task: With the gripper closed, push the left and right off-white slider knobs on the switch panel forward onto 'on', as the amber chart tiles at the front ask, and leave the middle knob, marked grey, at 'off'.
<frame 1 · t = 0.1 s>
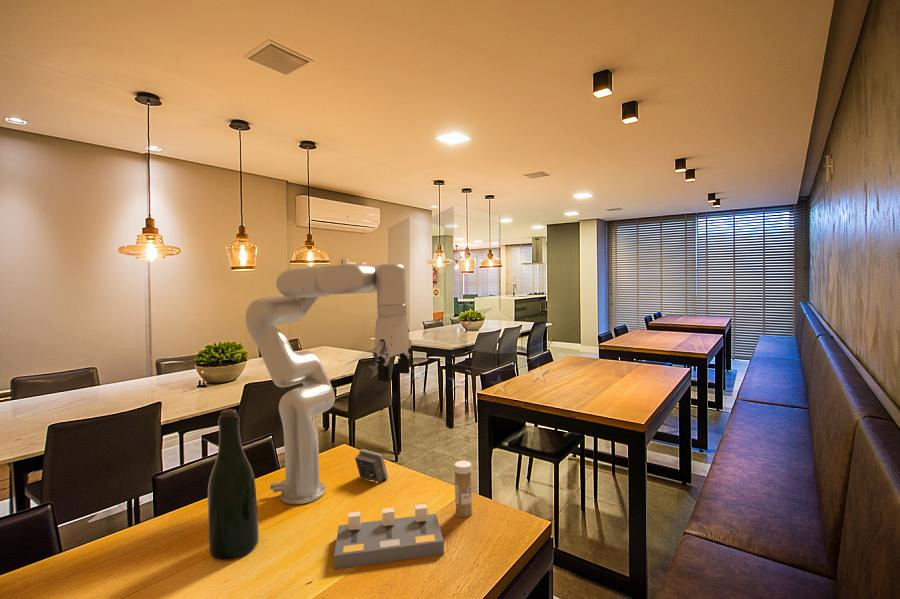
hand: (394, 376, 113), 37 cm above the table, tool pointing down, fingers open, 9 cm apart
electrical switch: (372, 480, 137), on the table
slider middle: (388, 516, 105), point 5 cm above the table, slide at 0.0 cm
slider left: (354, 520, 104), point 5 cm above the table, slide at 0.0 cm
switch panel: (389, 545, 102), on the table
beer bottle: (234, 549, 102), on the table
slider right: (421, 512, 106), point 5 cm above the table, slide at 0.0 cm
sprinkles bottle: (463, 514, 115), on the table
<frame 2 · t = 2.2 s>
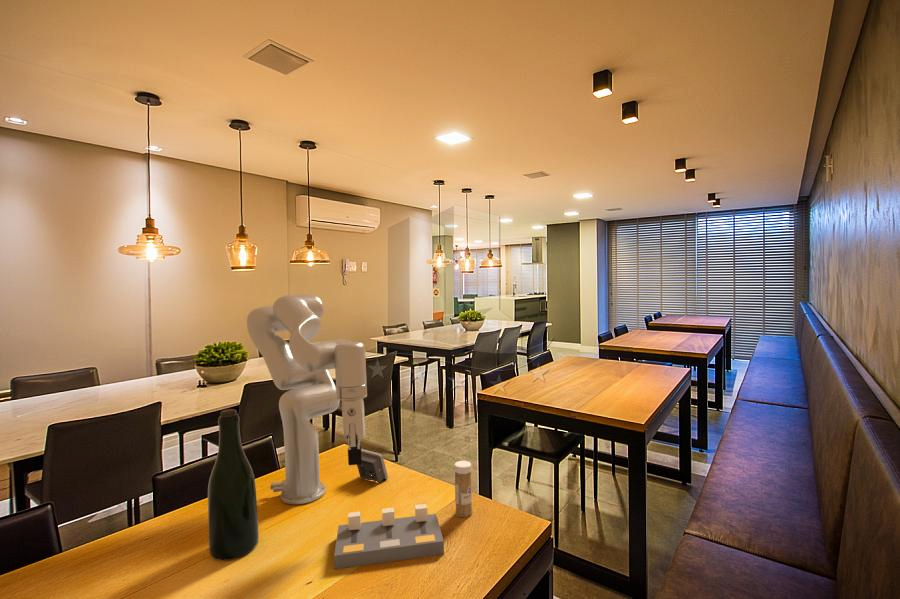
hand: (355, 463, 109), 16 cm above the table, tool pointing down, fingers closed
nothing on the table moved.
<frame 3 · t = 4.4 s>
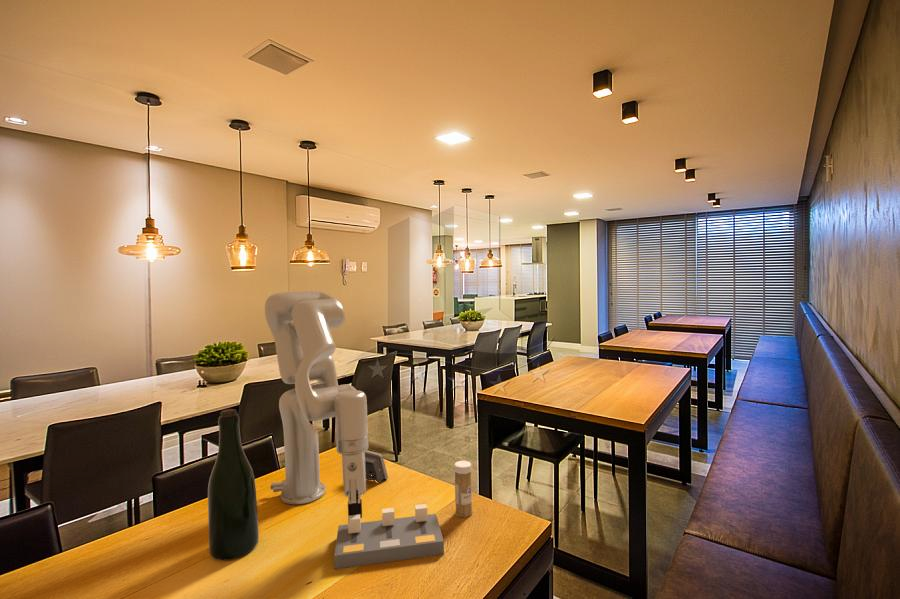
hand: (355, 517, 105), 5 cm above the table, tool pointing down, fingers closed
slider left: (354, 523, 102), point 5 cm above the table, slide at 1.3 cm, touching gripper
everything else where it was.
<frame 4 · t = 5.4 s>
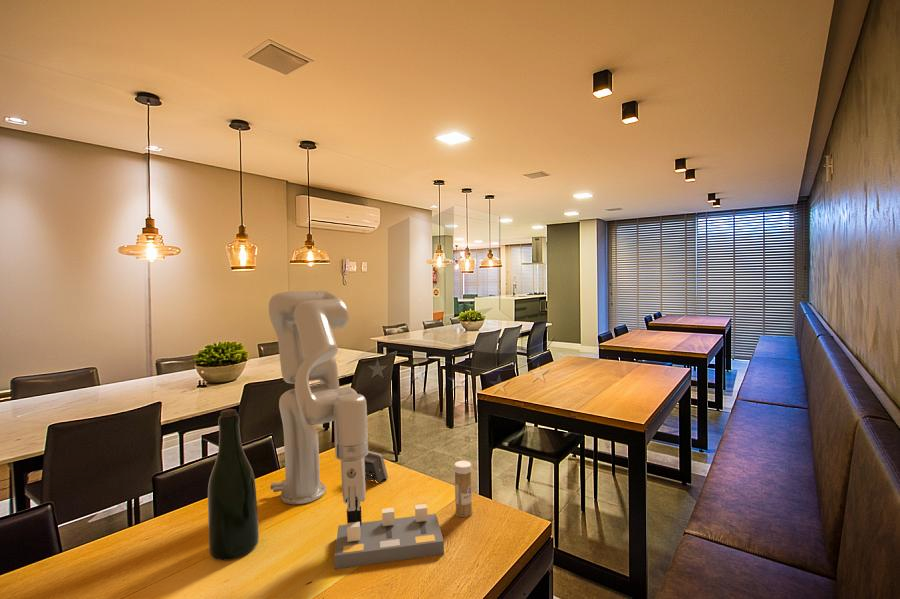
hand: (354, 525, 102), 5 cm above the table, tool pointing down, fingers closed
slider left: (353, 531, 99), point 5 cm above the table, slide at 4.6 cm, touching gripper
everything else where it was.
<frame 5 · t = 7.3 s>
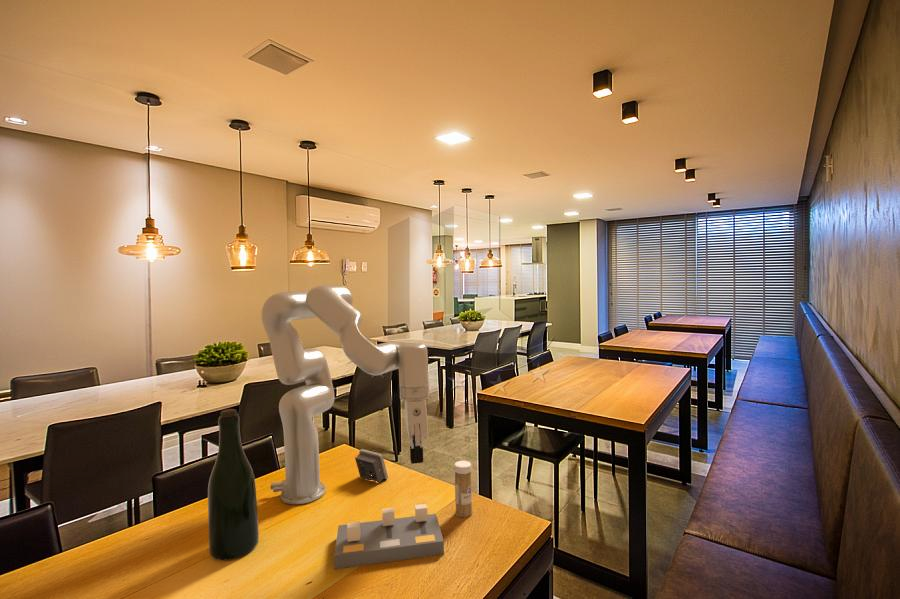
hand: (416, 461, 112), 15 cm above the table, tool pointing down, fingers closed
slider left: (353, 531, 99), point 5 cm above the table, slide at 4.6 cm
everything else where it was.
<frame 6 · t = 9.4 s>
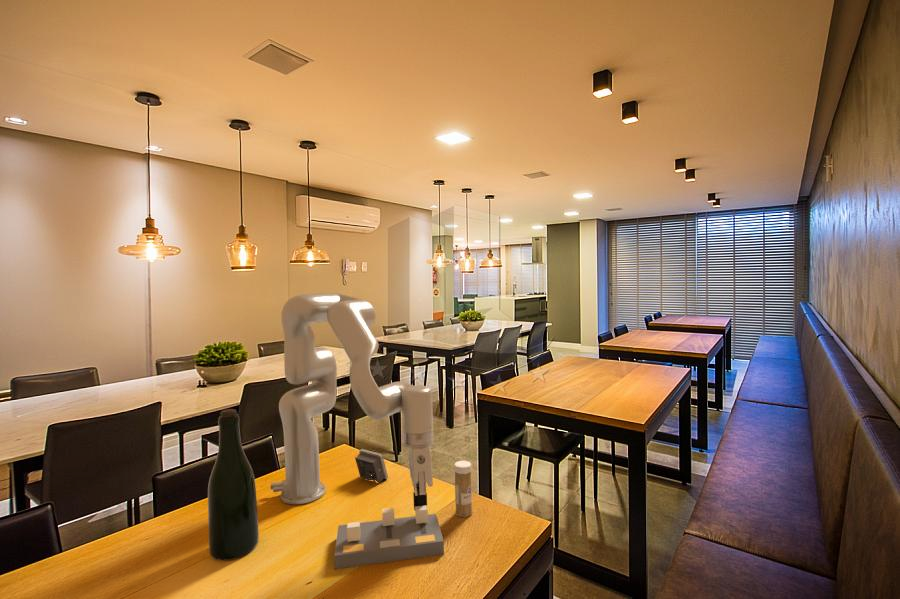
hand: (420, 508, 108), 5 cm above the table, tool pointing down, fingers closed
slider right: (421, 514, 106), point 5 cm above the table, slide at 0.8 cm, touching gripper
everything else where it was.
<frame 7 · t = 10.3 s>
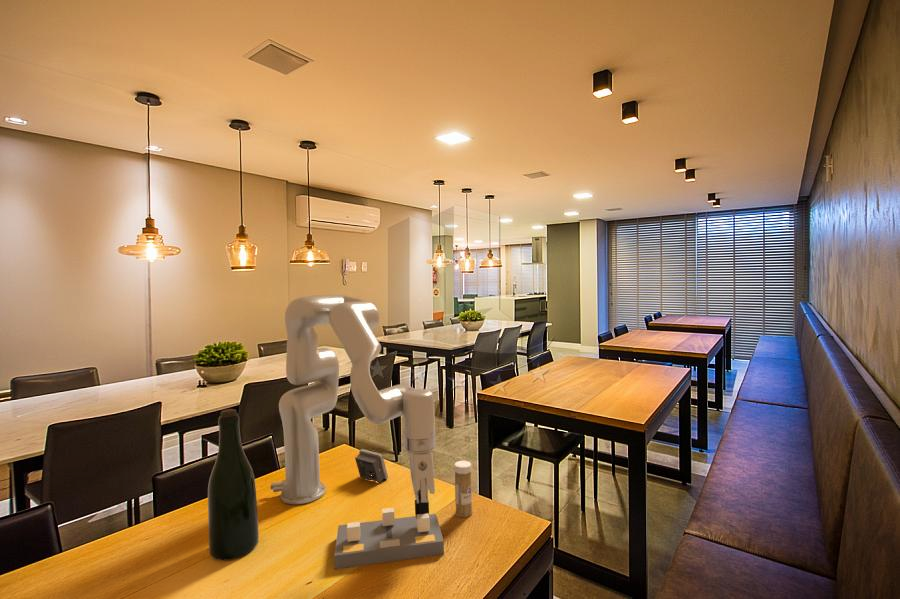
hand: (422, 516, 105), 5 cm above the table, tool pointing down, fingers closed
slider right: (423, 522, 102), point 5 cm above the table, slide at 4.5 cm, touching gripper
everything else where it was.
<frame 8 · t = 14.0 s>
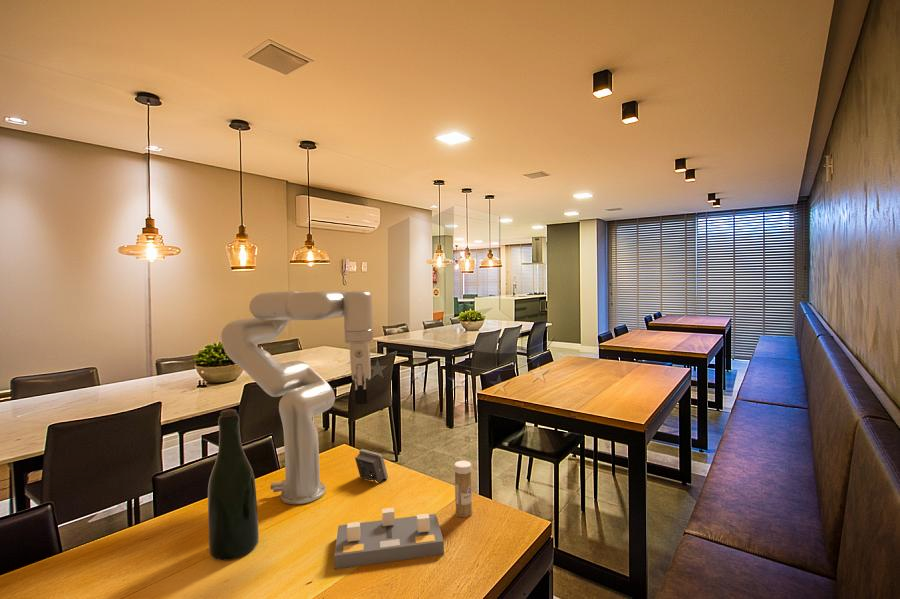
hand: (361, 403, 118), 29 cm above the table, tool pointing down, fingers closed
slider right: (423, 522, 102), point 5 cm above the table, slide at 4.6 cm
everything else where it was.
at the end: slider left slide at 4.6 cm; slider right slide at 4.6 cm; slider middle slide at 0.0 cm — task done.
